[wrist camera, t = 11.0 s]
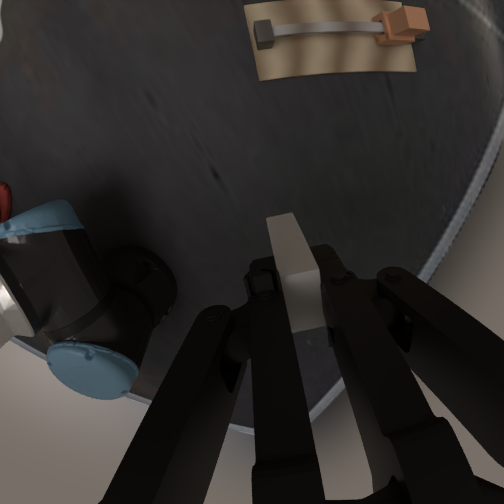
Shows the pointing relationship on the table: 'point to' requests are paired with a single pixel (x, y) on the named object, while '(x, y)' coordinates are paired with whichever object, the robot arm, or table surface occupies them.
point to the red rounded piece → (4, 202)
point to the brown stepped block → (401, 25)
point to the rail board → (323, 38)
